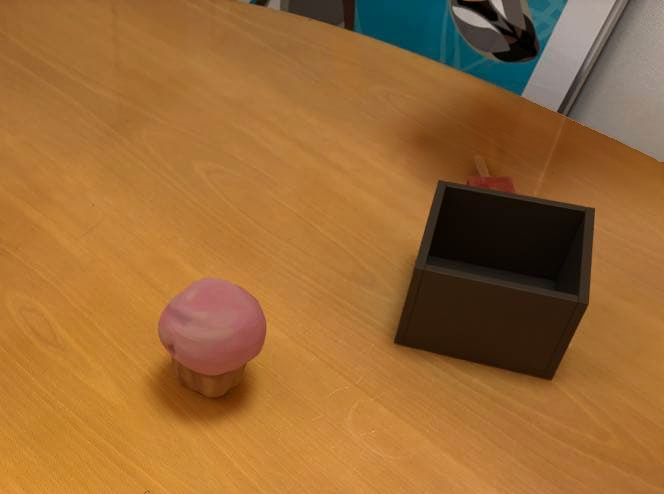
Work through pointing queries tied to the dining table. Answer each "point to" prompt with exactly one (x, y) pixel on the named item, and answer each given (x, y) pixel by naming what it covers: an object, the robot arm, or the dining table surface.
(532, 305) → the bin
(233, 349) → the cupcake
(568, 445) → the dining table surface
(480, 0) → the cardboard tube
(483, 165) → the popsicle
